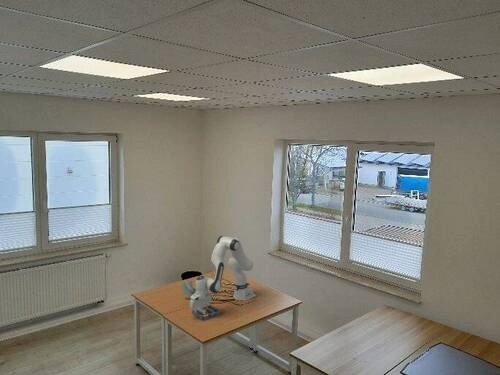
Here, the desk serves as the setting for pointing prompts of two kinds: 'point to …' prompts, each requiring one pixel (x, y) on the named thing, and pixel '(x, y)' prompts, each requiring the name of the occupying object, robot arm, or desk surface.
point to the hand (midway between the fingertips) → (201, 310)
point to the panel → (201, 310)
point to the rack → (208, 313)
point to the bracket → (189, 289)
